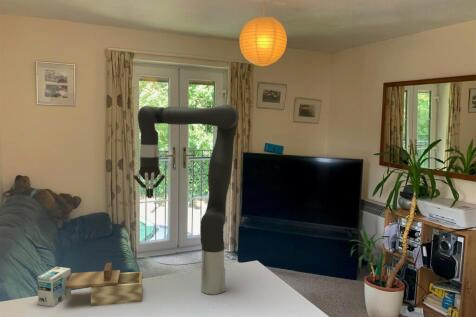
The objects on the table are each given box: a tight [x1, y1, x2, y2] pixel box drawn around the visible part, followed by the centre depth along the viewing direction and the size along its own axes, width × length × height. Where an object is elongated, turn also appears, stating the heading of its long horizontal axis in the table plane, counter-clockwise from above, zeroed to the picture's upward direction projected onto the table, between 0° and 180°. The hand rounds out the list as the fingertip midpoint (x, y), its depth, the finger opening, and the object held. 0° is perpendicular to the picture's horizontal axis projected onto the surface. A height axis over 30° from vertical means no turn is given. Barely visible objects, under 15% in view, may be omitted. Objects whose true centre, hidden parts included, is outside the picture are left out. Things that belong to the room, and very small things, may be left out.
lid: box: [65, 262, 121, 290], centre depth 141 cm, size 18×12×5 cm, turn 103°
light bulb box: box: [37, 266, 72, 307], centre depth 141 cm, size 11×7×11 cm, turn 168°
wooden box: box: [90, 271, 143, 307], centre depth 144 cm, size 18×12×7 cm, turn 103°
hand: (149, 197), depth 152 cm, fingers closed
